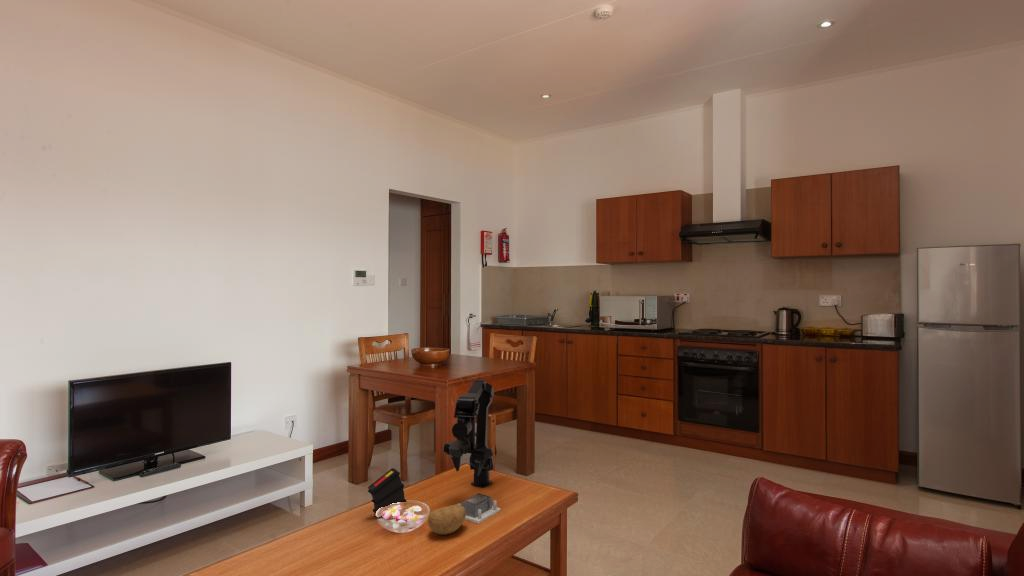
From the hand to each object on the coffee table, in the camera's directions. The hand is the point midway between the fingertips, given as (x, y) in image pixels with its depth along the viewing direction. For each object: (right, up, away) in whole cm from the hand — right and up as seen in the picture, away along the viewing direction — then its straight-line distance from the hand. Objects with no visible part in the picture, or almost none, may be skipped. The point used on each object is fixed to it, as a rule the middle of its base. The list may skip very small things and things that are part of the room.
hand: (467, 473), depth 193 cm
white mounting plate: (+4, -11, -7) cm, 14 cm away
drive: (+4, -11, -7) cm, 13 cm away
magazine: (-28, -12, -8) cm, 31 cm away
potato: (-5, -11, -22) cm, 25 cm away
